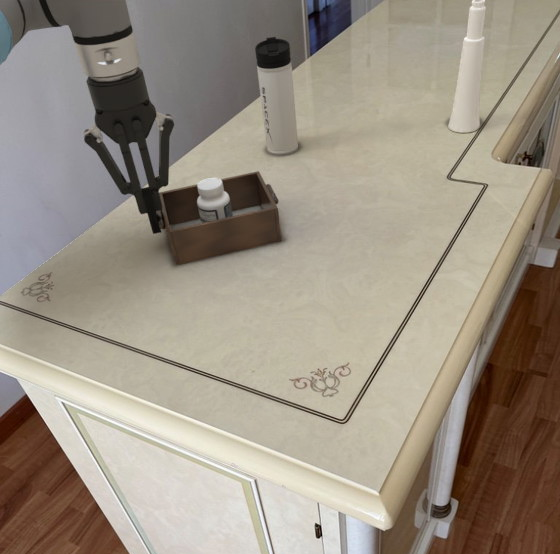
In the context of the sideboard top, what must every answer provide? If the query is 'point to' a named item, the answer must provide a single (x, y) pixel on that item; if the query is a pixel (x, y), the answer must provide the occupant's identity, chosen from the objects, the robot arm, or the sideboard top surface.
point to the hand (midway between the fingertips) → (156, 228)
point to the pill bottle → (213, 200)
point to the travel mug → (277, 96)
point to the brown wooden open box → (221, 220)
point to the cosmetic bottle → (470, 74)
